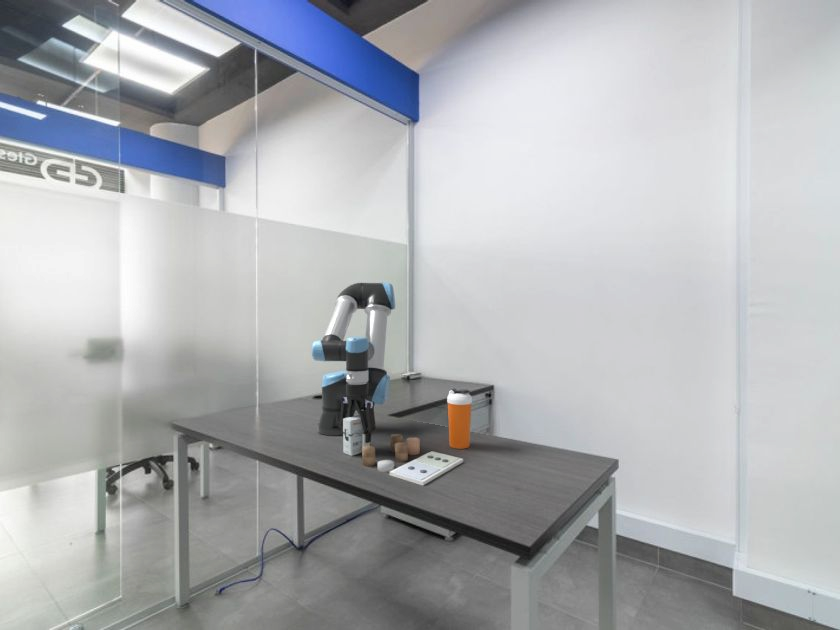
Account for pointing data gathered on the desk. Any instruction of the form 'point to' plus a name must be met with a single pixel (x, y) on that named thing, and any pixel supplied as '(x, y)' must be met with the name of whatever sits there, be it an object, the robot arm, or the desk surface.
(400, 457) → the brown rounded capsule
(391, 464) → the light gray rounded ball
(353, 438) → the ink box
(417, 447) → the peach rounded capsule
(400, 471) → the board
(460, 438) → the shaker bottle
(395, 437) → the brown rounded capsule
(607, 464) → the desk surface
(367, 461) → the tan rounded capsule
